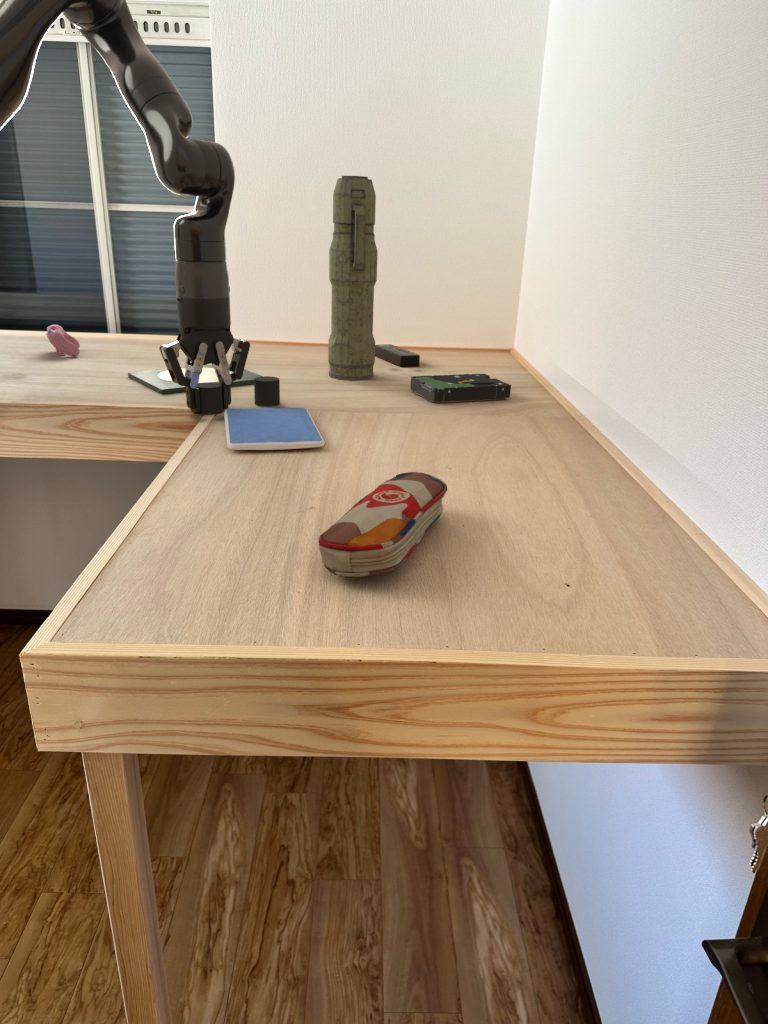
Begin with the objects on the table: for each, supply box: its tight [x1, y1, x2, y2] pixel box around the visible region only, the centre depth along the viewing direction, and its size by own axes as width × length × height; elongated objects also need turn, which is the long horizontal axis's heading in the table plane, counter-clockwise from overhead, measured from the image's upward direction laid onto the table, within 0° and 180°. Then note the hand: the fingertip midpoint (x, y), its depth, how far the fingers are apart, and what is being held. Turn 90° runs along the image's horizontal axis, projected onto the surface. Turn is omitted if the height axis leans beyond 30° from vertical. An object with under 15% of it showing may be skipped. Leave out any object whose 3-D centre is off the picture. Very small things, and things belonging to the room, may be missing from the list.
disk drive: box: [409, 373, 512, 403], centre depth 127 cm, size 10×3×15 cm
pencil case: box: [318, 471, 448, 580], centre depth 67 cm, size 11×20×5 cm, turn 146°
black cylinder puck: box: [253, 375, 281, 407], centre depth 117 cm, size 4×4×4 cm
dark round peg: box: [197, 382, 224, 415], centre depth 111 cm, size 4×4×4 cm
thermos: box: [327, 175, 379, 381], centre depth 134 cm, size 9×12×35 cm
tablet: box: [223, 407, 326, 451], centre depth 101 cm, size 19×13×1 cm, turn 13°
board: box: [127, 363, 263, 395], centre depth 132 cm, size 20×16×1 cm
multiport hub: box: [375, 343, 421, 368], centre depth 157 cm, size 4×14×2 cm, turn 25°
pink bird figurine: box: [45, 324, 81, 357], centre depth 151 cm, size 10×5×7 cm, turn 21°
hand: (209, 409), depth 111 cm, fingers closed on dark round peg, 4 cm apart
